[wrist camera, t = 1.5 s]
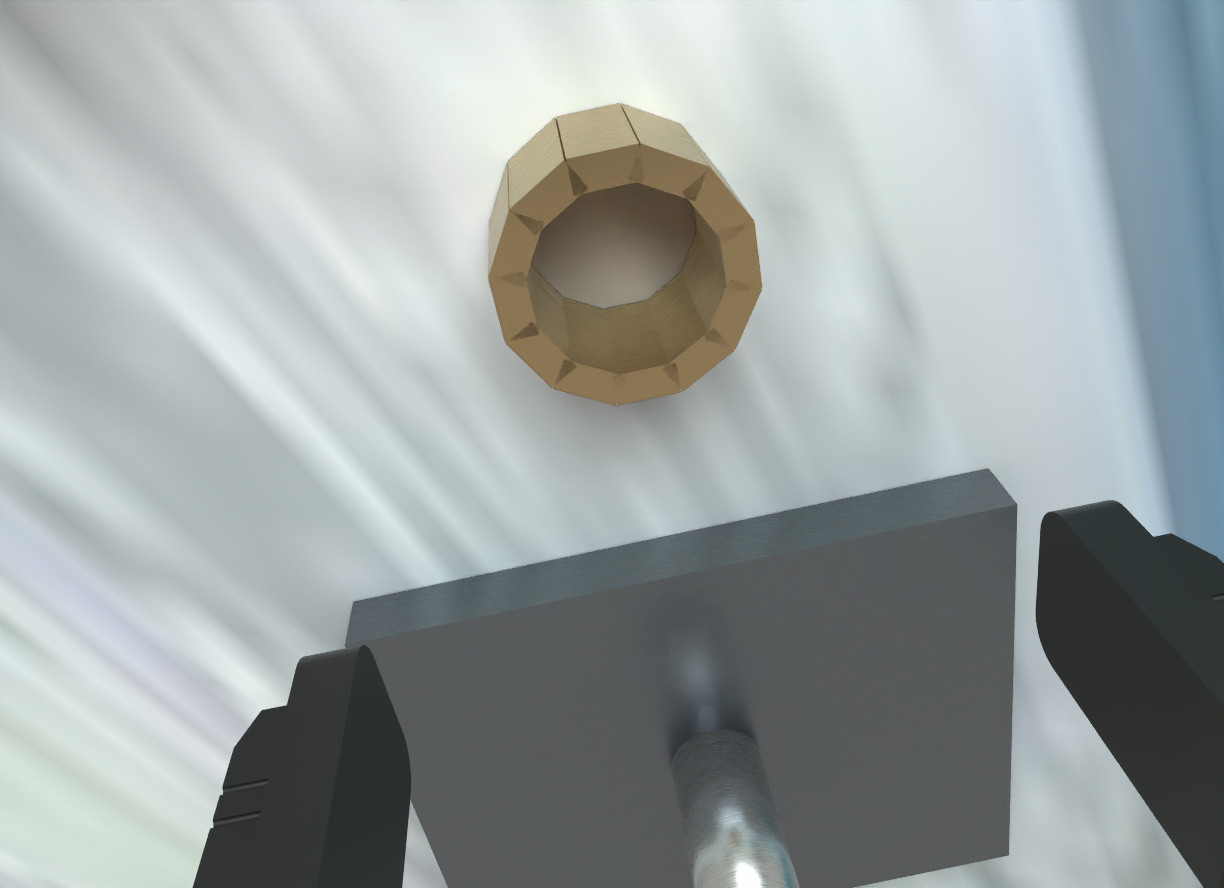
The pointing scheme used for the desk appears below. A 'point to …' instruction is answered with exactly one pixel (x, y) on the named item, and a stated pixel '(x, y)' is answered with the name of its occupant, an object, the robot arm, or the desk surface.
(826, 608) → the piston stand
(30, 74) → the desk surface
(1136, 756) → the robot arm
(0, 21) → the desk surface
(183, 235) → the desk surface
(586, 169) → the bronze ring
